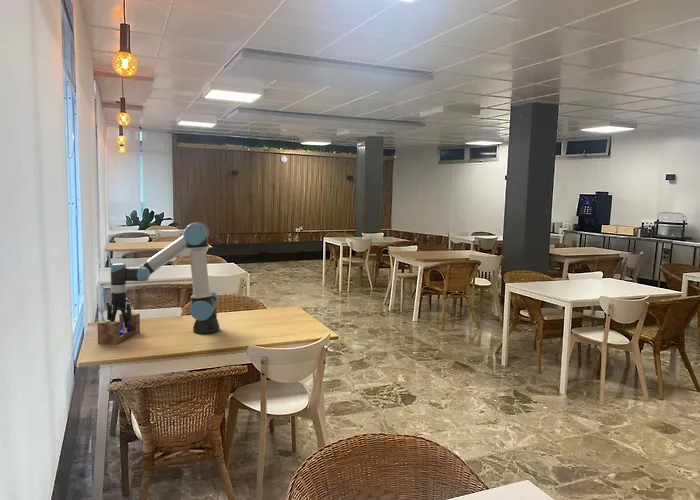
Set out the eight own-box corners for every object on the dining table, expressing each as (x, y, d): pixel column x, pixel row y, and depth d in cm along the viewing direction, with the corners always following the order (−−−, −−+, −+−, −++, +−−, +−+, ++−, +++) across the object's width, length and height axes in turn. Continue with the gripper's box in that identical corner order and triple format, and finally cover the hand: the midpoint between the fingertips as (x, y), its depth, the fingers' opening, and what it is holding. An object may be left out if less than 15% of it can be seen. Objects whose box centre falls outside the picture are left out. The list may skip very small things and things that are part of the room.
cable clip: (122, 331, 285) (122, 321, 284) (129, 332, 284) (129, 321, 284) (109, 337, 273) (108, 326, 272) (116, 338, 272) (116, 327, 272)
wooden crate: (139, 332, 290) (139, 312, 289) (115, 344, 267) (115, 322, 265) (123, 331, 291) (123, 311, 290) (97, 343, 268) (97, 321, 267)
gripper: (138, 291, 279) (139, 332, 281) (107, 289, 281) (108, 330, 284) (130, 293, 271) (131, 335, 274) (98, 292, 274) (99, 333, 276)
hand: (119, 332), depth 279 cm, fingers open, 6 cm apart
